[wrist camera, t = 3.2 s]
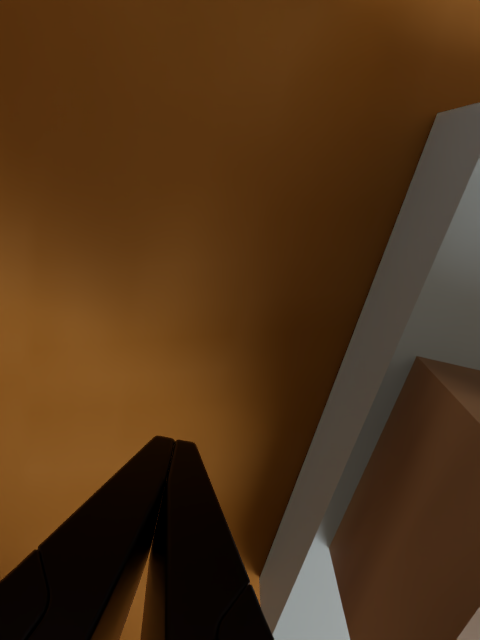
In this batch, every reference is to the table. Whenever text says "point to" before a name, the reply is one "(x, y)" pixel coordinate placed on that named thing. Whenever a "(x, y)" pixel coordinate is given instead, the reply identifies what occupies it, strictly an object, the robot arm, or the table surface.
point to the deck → (383, 370)
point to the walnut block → (417, 516)
